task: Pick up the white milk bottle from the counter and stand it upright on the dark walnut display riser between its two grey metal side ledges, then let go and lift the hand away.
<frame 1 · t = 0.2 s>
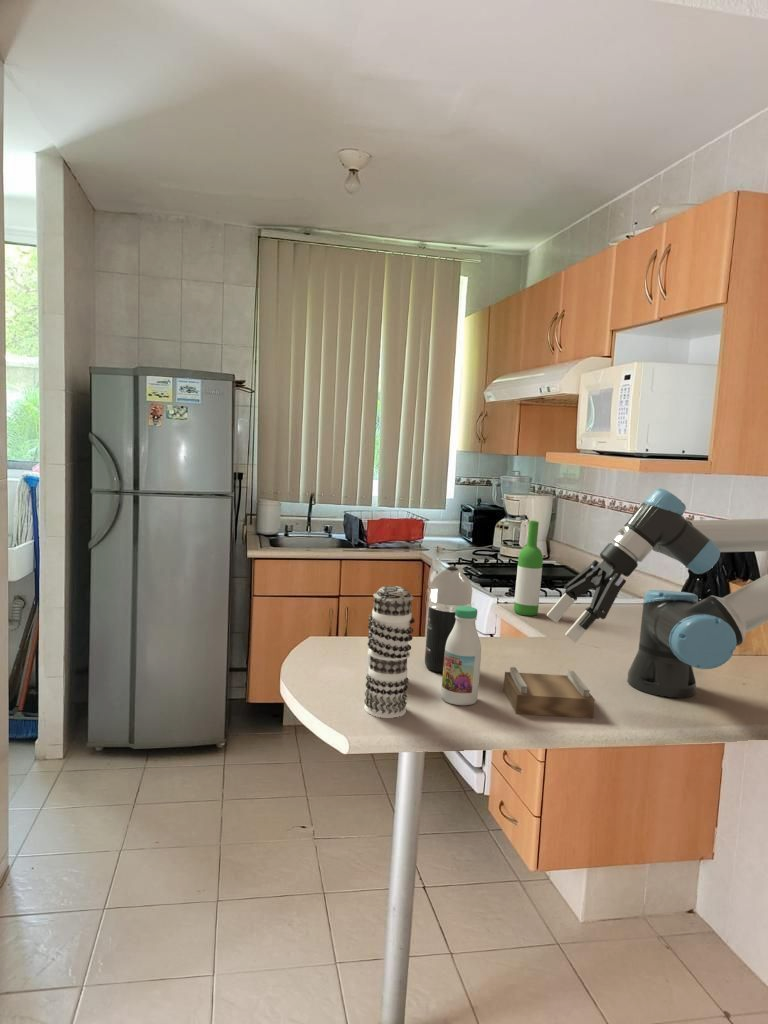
hand: (560, 628, 157), 16 cm above the counter, tool tilted 35°, fingers open, 13 cm apart
decorative candle: (384, 710, 147), on the counter
milk bottle: (458, 700, 156), on the counter
pill bottle: (383, 678, 166), on the counter
display riser: (546, 702, 157), on the counter
black water bottle: (444, 669, 176), on the counter
wine bottle: (525, 614, 235), on the counter
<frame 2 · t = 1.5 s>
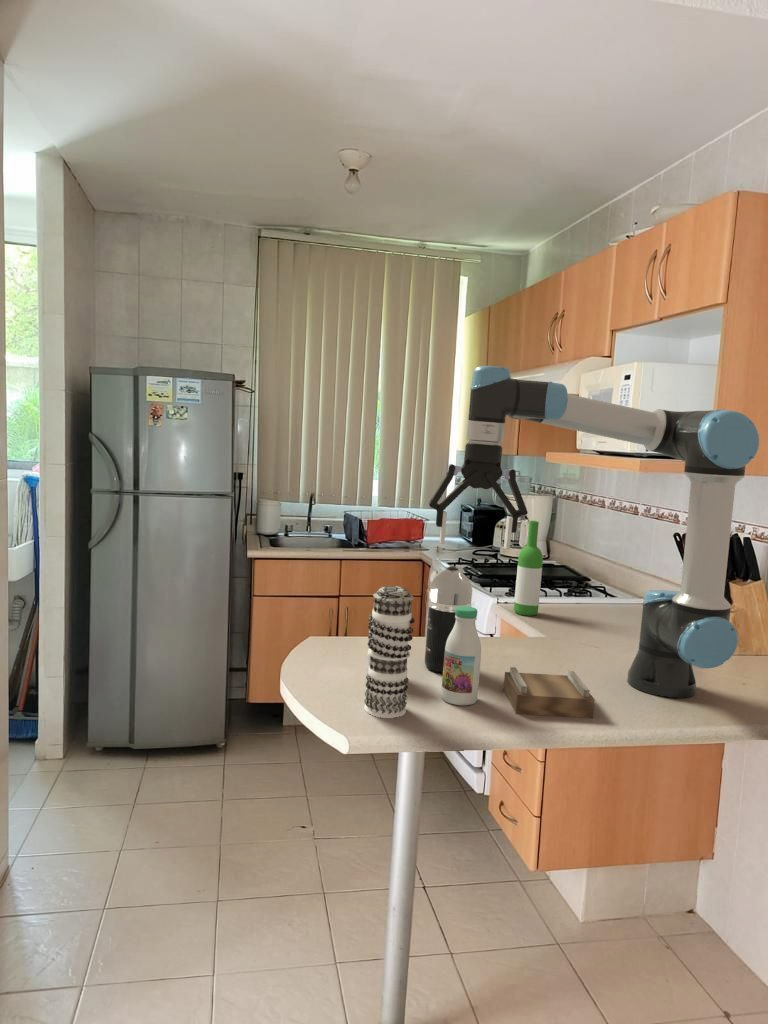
hand: (474, 545, 152), 33 cm above the counter, tool pointing down, fingers open, 13 cm apart
nothing on the counter moved.
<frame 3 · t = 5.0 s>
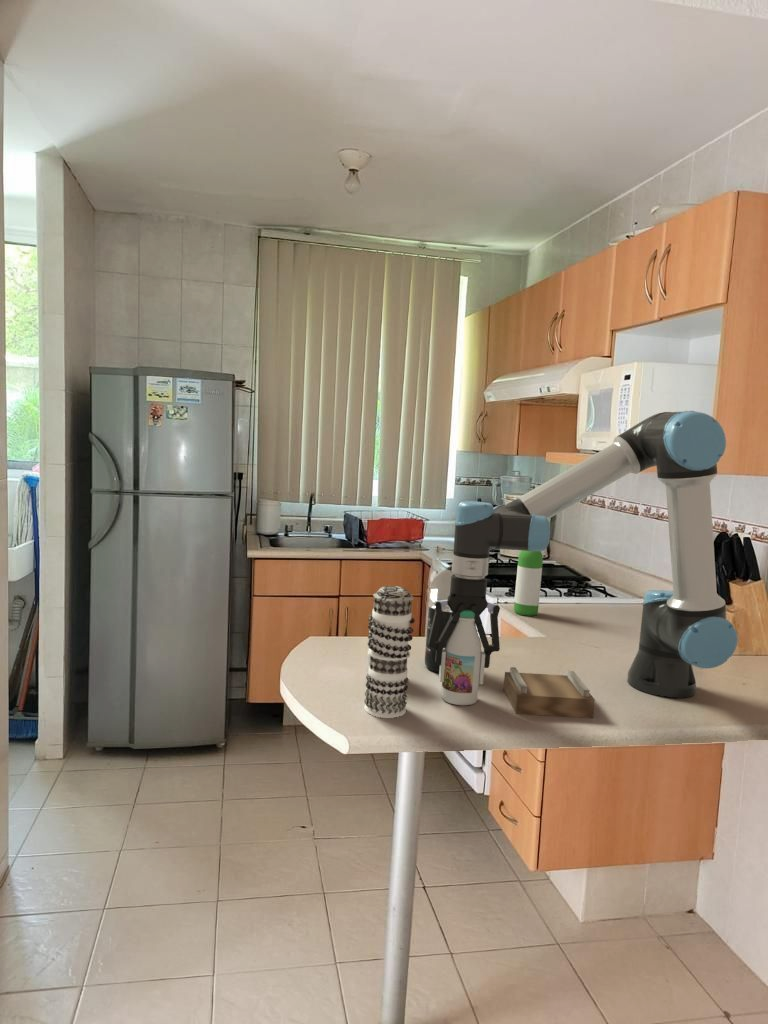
hand: (460, 680, 155), 4 cm above the counter, tool pointing down, fingers closed on milk bottle, 8 cm apart
milk bottle: (459, 700, 156), on the counter, touching gripper
everything else where it was.
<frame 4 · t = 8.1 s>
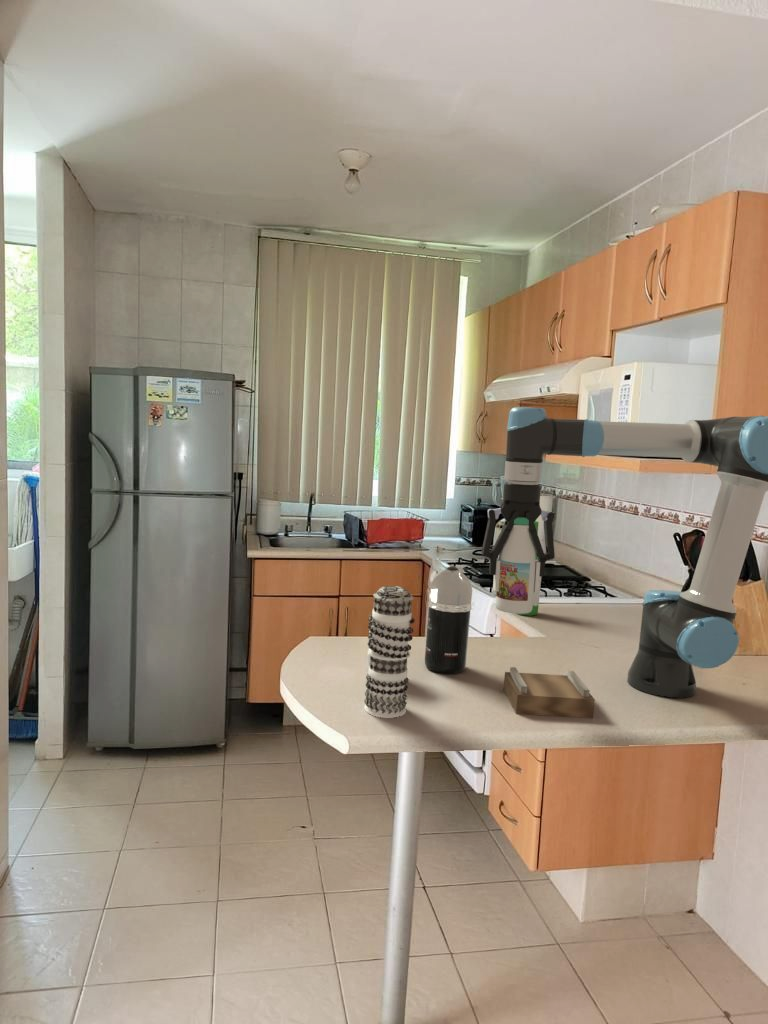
hand: (515, 590, 154), 24 cm above the counter, tool pointing down, fingers closed on milk bottle, 8 cm apart
milk bottle: (513, 610, 154), point 20 cm above the counter, touching gripper
everything else where it was.
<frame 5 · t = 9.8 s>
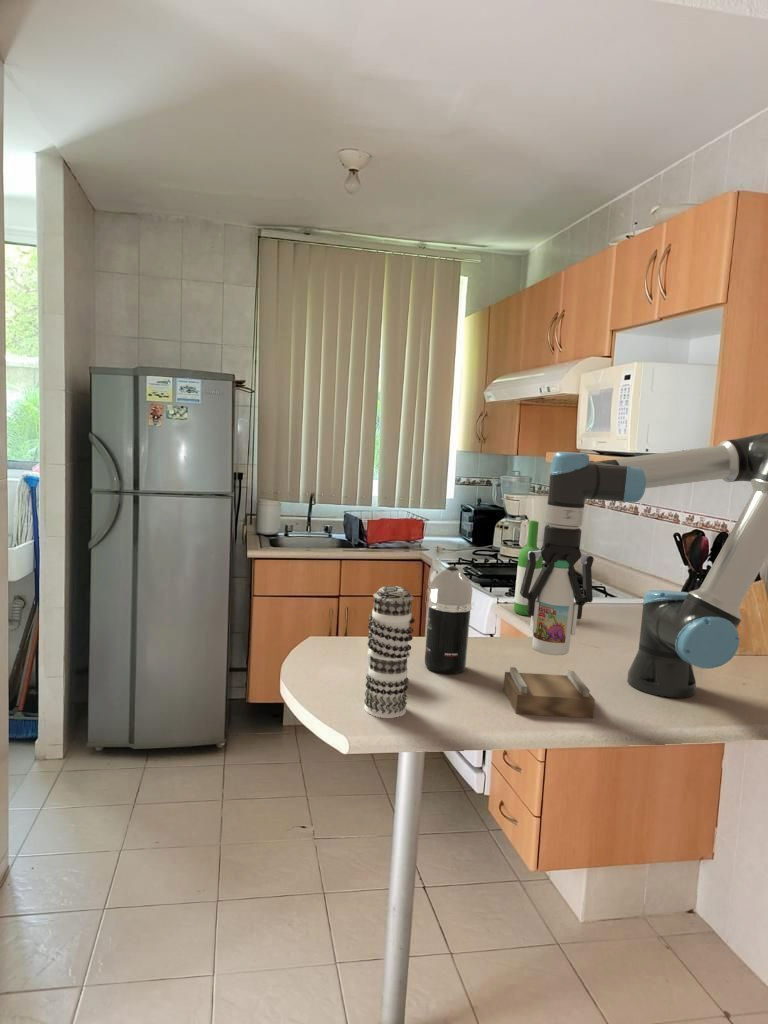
hand: (552, 631, 155), 16 cm above the counter, tool pointing down, fingers closed on milk bottle, 8 cm apart
milk bottle: (550, 651, 156), point 11 cm above the counter, touching gripper
everything else where it was.
when the fingers open (10 cm above the counter, at t = 11.2 s): milk bottle drops 1 cm, resting on display riser.
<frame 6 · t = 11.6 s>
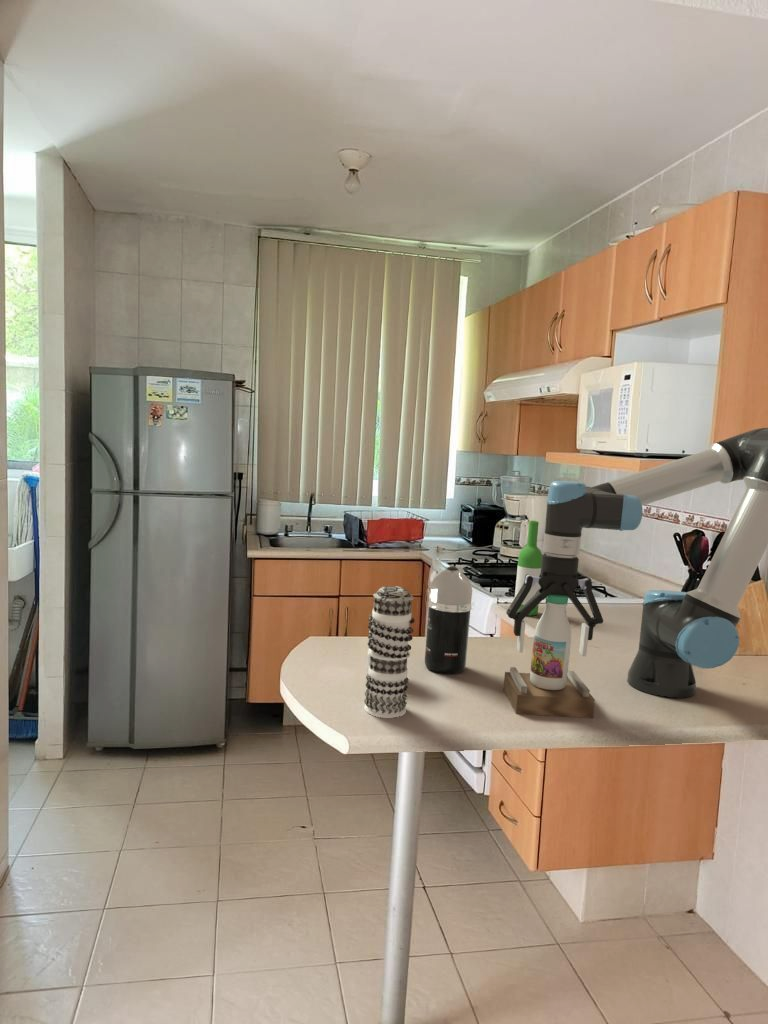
hand: (551, 652, 156), 11 cm above the counter, tool pointing down, fingers open, 13 cm apart
milk bottle: (547, 685, 157), point 4 cm above the counter, touching display riser
everything else where it was.
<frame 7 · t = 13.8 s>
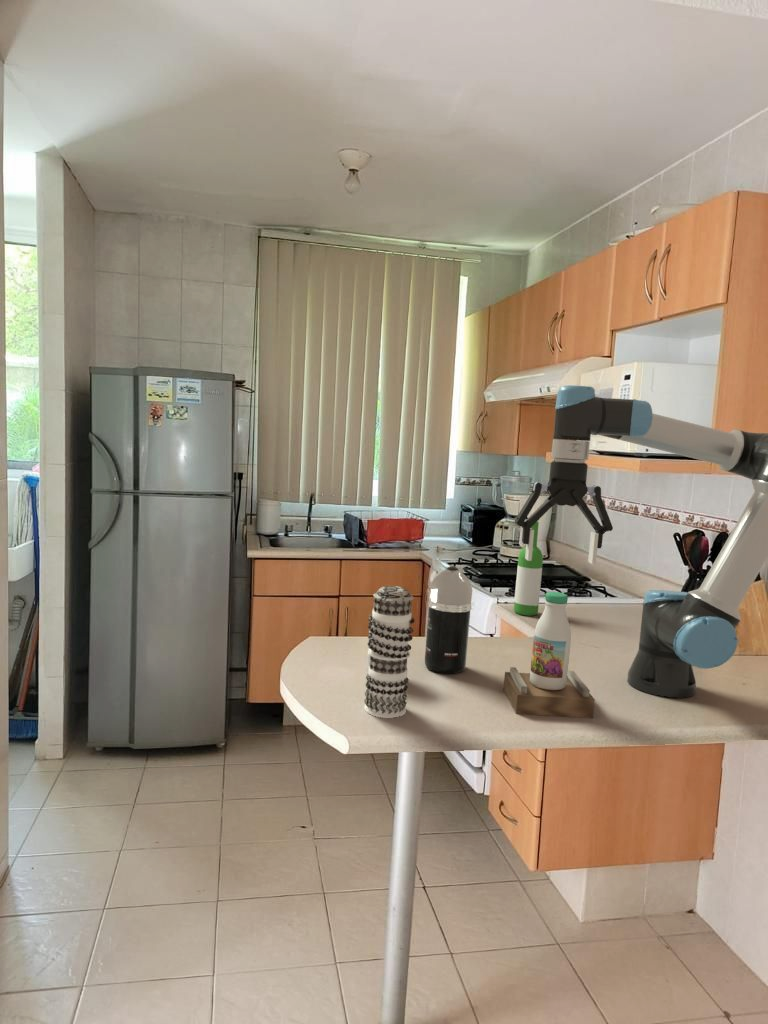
hand: (560, 561, 154), 31 cm above the counter, tool pointing down, fingers open, 13 cm apart
nothing on the counter moved.
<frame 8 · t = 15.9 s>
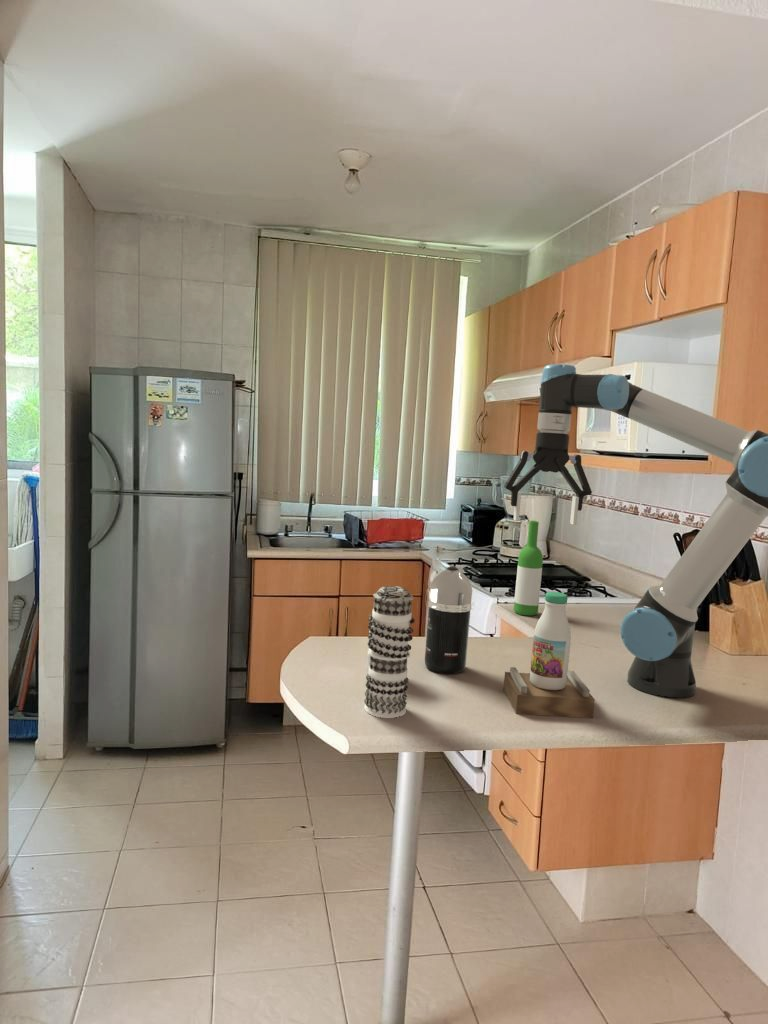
hand: (544, 522, 173), 37 cm above the counter, tool pointing down, fingers open, 13 cm apart
nothing on the counter moved.
at the end: milk bottle 0.1 cm off-centre on the display riser, point 3.8 cm above the display riser's base; milk bottle tilted 0°; the gripper is holding nothing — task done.
